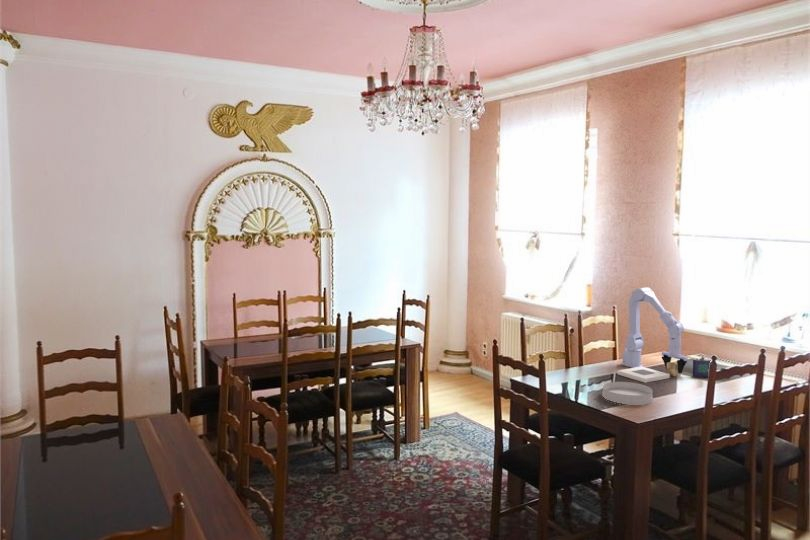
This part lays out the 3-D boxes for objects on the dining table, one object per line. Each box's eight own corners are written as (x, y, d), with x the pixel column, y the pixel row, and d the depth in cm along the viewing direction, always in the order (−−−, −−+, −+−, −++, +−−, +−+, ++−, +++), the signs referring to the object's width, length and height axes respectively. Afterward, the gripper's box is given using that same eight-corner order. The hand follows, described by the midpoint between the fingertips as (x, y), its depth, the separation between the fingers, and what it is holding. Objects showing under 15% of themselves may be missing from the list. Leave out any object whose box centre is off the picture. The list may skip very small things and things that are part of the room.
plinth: (617, 374, 337) (617, 370, 336) (641, 370, 345) (641, 366, 345) (645, 382, 321) (645, 378, 321) (669, 378, 329) (669, 373, 329)
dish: (612, 389, 311) (613, 379, 310) (659, 397, 297) (659, 387, 296) (594, 399, 294) (594, 389, 293) (642, 409, 280) (643, 398, 279)
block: (666, 373, 338) (666, 362, 337) (672, 372, 340) (673, 361, 340) (674, 376, 333) (674, 364, 333) (680, 374, 336) (681, 363, 335)
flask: (709, 375, 334) (710, 355, 332) (712, 377, 331) (713, 357, 329) (691, 375, 334) (692, 355, 333) (693, 377, 331) (694, 357, 330)
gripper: (658, 344, 340) (657, 369, 341) (681, 349, 327) (680, 375, 328) (667, 342, 343) (666, 367, 344) (690, 348, 330) (689, 373, 332)
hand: (673, 371), depth 337 cm, fingers open, 7 cm apart
